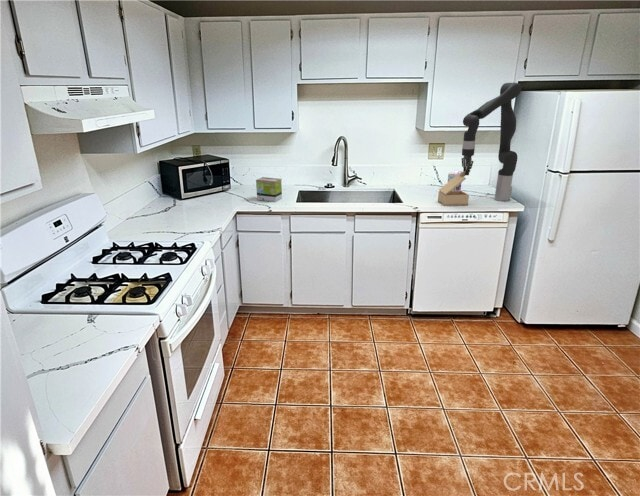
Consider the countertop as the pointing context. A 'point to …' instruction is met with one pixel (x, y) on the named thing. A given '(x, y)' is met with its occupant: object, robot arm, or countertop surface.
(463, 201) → the base
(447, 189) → the lid
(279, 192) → the tea box
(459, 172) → the candy box
